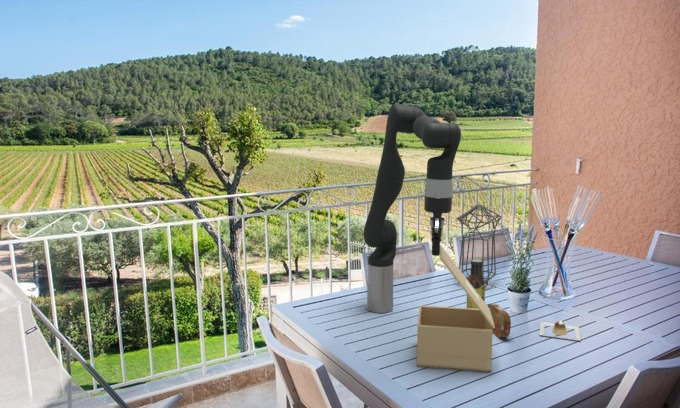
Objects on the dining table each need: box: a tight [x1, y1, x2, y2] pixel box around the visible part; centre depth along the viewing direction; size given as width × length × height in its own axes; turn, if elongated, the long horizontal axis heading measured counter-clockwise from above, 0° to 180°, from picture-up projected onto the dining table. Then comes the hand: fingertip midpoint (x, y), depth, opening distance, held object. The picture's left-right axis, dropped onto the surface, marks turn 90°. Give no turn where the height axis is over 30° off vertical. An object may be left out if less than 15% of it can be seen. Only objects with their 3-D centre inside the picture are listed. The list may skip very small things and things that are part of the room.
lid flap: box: [439, 244, 495, 329], centre depth 144 cm, size 24×15×1 cm
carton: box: [416, 305, 494, 373], centre depth 147 cm, size 20×17×12 cm
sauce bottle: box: [466, 258, 486, 309], centre depth 180 cm, size 7×6×20 cm
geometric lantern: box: [455, 203, 502, 288], centre depth 212 cm, size 16×16×35 cm
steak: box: [487, 303, 512, 338], centre depth 165 cm, size 15×3×8 cm, turn 5°
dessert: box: [539, 319, 582, 342], centre depth 165 cm, size 12×12×5 cm
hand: (435, 254), depth 144 cm, fingers closed
